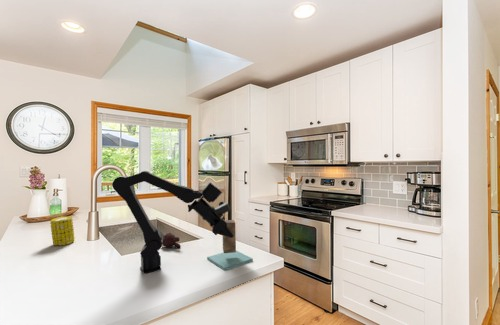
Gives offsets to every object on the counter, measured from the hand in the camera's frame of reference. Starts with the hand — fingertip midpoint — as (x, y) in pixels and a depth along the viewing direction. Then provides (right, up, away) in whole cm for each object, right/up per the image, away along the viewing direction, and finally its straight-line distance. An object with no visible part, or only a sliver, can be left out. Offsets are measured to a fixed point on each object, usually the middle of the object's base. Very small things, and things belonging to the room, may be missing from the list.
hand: (232, 235), depth 108 cm
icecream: (-33, -11, +19) cm, 40 cm away
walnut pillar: (-1, -7, 0) cm, 7 cm away
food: (-92, -12, +27) cm, 96 cm away
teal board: (-1, -11, 0) cm, 11 cm away
